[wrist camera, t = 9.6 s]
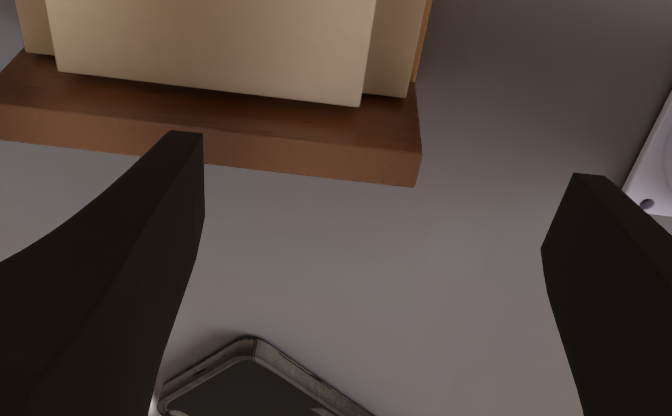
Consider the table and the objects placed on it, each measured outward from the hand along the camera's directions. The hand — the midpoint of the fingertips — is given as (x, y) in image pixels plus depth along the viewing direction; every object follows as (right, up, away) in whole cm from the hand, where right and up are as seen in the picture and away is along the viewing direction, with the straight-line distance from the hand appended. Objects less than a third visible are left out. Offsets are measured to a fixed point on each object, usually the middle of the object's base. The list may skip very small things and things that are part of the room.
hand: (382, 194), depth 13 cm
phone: (-3, -13, +24) cm, 27 cm away
